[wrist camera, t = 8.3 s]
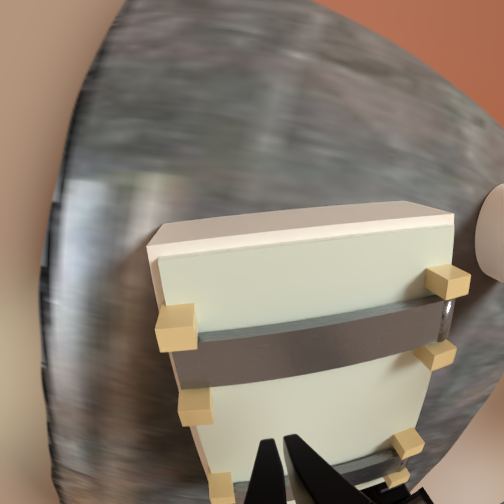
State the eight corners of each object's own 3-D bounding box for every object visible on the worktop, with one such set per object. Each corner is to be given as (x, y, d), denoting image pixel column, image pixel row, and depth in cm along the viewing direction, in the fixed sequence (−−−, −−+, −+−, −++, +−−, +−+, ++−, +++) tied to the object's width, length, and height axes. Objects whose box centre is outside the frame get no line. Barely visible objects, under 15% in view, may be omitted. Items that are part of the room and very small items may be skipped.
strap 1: (445, 290, 14) (456, 298, 13) (438, 330, 15) (448, 339, 14) (172, 334, 13) (169, 346, 12) (182, 377, 14) (181, 390, 13)
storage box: (375, 437, 25) (407, 494, 18) (217, 470, 24) (223, 538, 16) (404, 200, 19) (488, 223, 12) (163, 223, 17) (132, 265, 10)
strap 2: (407, 442, 18) (413, 451, 17) (400, 460, 18) (405, 469, 17) (215, 483, 16) (215, 495, 16) (220, 499, 17) (221, 510, 16)
